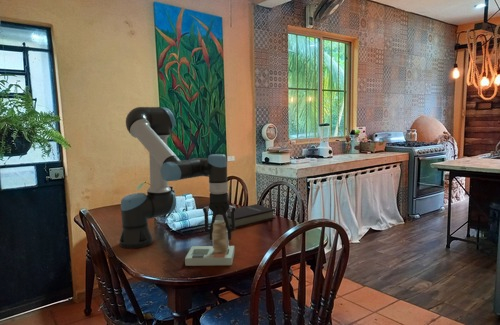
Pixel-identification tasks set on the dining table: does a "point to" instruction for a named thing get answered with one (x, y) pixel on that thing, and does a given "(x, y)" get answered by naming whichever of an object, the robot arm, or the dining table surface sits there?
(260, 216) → the book
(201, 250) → the socket board
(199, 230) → the dining table surface
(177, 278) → the dining table surface
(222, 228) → the maple peg
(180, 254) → the dining table surface
